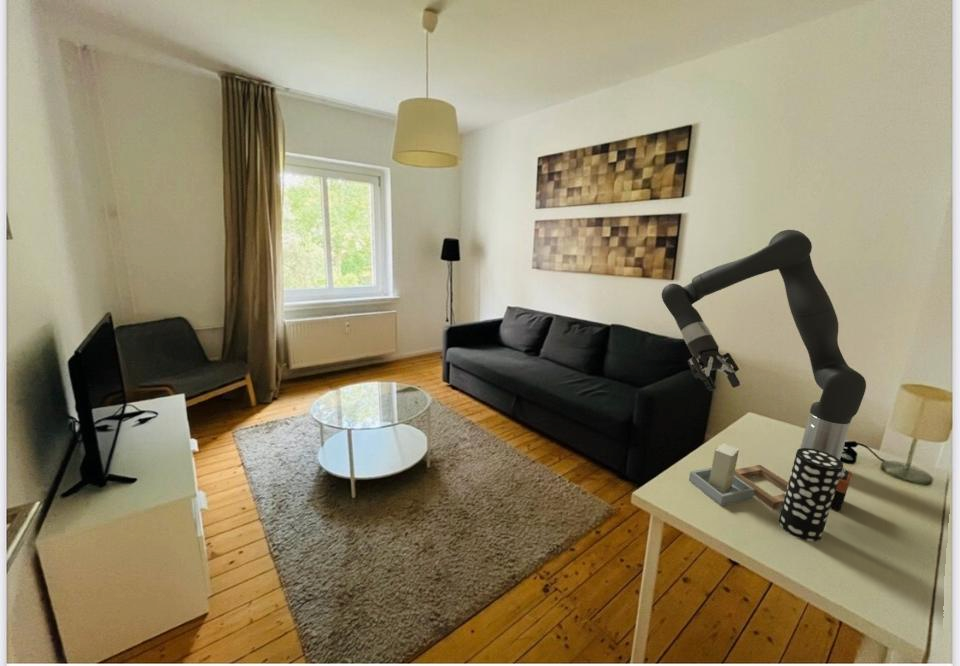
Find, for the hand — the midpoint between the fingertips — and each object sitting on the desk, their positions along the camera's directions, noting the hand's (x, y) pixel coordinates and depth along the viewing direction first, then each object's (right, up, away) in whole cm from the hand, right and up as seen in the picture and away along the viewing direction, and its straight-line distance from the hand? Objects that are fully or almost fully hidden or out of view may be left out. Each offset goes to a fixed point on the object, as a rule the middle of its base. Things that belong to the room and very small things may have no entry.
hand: (725, 388), depth 112 cm
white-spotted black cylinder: (+8, -33, -17) cm, 37 cm away
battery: (+24, -30, -7) cm, 39 cm away
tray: (-3, -28, -3) cm, 29 cm away
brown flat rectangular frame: (+10, -28, -2) cm, 30 cm away
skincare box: (-3, -28, -3) cm, 28 cm away
